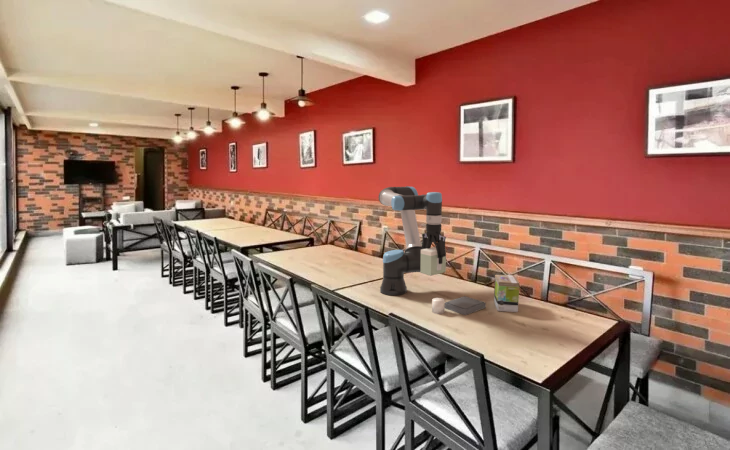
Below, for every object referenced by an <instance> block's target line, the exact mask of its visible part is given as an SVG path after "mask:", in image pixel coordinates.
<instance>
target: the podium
mask: <svg viewBox="0 0 730 450" xmlns="http://www.w3.org/2000/svg"><path fill="white" fill-rule="evenodd" d="M485 308H486V302H485V301H483V300H479V299H475V298H473V297H469V296H465V295H464V296H461V297H458V298H454V299H452V300H448V301H445V310H449V311H452V312H454V313H457V314H460V315H463V316H467V315H469V314H472V313H475V312H478V311H480V310H482V309H483V310H484V309H485Z"/></svg>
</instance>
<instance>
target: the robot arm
mask: <svg viewBox="0 0 730 450" xmlns="http://www.w3.org/2000/svg"><path fill="white" fill-rule="evenodd" d="M377 198H378V201H379V203H380V204H382V205H383V206H387V207H388V206H389V207H391V209H392V210H393V211H398V212H400V216H401V217H400V218H401V223H402V227H403V234H404V235H403V236H404V239H405V240H404V241H405V246H406V248H405V249H404V250H403V249H391V250H388V251H386V252H384V254H383V257H382V263H383V264H382V271H383V272H382V273H383V274H382V277H383V278H382V282H381V285H380V289H379V291H380V293H381V294H384V295H387V296H400V295H404V294H406V293H407V292H408V290H407V289H408V287H407V285H406V284H407V283H406V281H405V273H406V274H409V273H420V266H421V250H422V249H428V248H432V246H433V245H434V247H436V250H437V254H438V257H437V270H441V264H442V260H443V257H445V256H446V257H447V249H446V248H447V247H446V236H443V235H442V234H441V233H442V222H443V221H442V220H443V219H442V215H443V214H442V213H443V211H442V210H443V208H442V207H443V194H442V192H438V191H430V192H427V193H426V194H419V192H418V191H417V189H416V188H415V187H414V186H408V185H407V186H388V187H385V188H383V189H381V191H380V192H379V194H378V197H377ZM421 210H425V212H426V214H425V216H426V220H425V221H426V224H425V231H426V232H425V233H421V236H420V232H419V227H418V226H419V225H418V220H417V216H416V211H421ZM421 237H422V241H421ZM432 244H433V245H432Z"/></svg>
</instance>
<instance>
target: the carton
mask: <svg viewBox="0 0 730 450" xmlns="http://www.w3.org/2000/svg"><path fill="white" fill-rule="evenodd" d="M437 257H438V254H437V250H436V247H435V246H431V248H428V249H422V250H421V266H420V272H419V273H420V274H423V275H426V276H430V277H431V276H434V275H435V276H436V275H440V274H443V273H446V272H447V270H446V269H447V267H446V266H447V263H446V262H447V255H446V256H445V257H443V260H442V264H441V270H437Z"/></svg>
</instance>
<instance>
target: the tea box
mask: <svg viewBox="0 0 730 450" xmlns="http://www.w3.org/2000/svg"><path fill="white" fill-rule="evenodd" d="M493 288H494V290H493V292H494V293H493V303H494V305H495V309H496V310H497V311H498V312H508V313H509V312H510V313H518V312H519V299H520V296H519V295H520V282H519V280H518V279H517V277H516V276H515V275H510V274H495V275H494V287H493Z"/></svg>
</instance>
